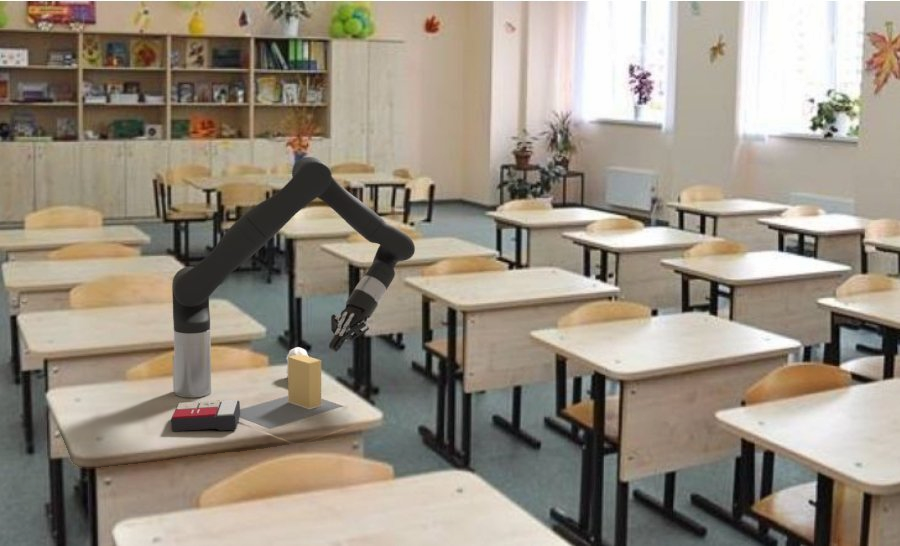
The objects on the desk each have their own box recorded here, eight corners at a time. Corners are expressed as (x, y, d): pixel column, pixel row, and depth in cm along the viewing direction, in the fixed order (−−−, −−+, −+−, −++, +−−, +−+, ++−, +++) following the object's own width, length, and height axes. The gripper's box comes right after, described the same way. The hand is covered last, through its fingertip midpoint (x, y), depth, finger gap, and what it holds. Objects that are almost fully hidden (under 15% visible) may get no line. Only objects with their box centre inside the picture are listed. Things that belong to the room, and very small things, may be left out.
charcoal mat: (228, 414, 263) (228, 412, 263) (301, 393, 281) (301, 391, 281) (270, 430, 253) (270, 428, 253) (343, 407, 271) (343, 405, 271)
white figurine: (309, 345, 296) (308, 361, 284) (309, 373, 298) (308, 390, 287) (286, 345, 295) (284, 361, 284) (286, 373, 297) (284, 390, 286)
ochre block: (288, 402, 272) (288, 357, 270) (300, 398, 275) (300, 354, 273) (309, 409, 267) (309, 363, 265) (321, 405, 270) (321, 360, 268)
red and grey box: (177, 401, 260) (239, 397, 261) (179, 417, 261) (240, 413, 262) (169, 416, 249) (234, 412, 250) (171, 434, 250) (236, 429, 251)
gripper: (342, 284, 285) (307, 336, 278) (377, 292, 276) (342, 346, 269) (356, 300, 290) (322, 352, 283) (391, 309, 281) (357, 362, 274)
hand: (332, 349), depth 276 cm, fingers closed
